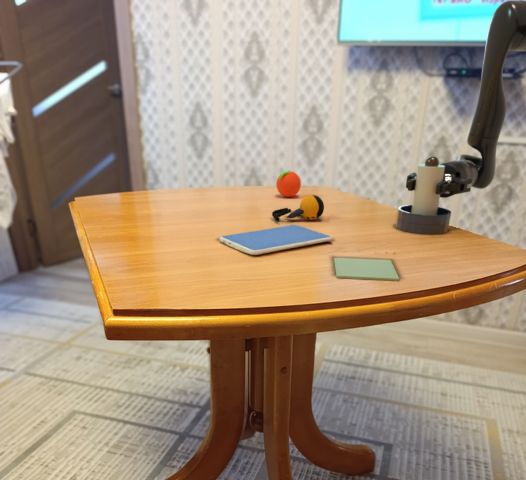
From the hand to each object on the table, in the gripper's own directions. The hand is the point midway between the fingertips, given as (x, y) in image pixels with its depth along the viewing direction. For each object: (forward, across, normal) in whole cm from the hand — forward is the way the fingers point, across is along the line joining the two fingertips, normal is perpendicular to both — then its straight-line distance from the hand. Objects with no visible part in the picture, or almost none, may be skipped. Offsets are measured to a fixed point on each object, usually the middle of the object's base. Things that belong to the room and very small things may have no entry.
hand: (423, 187), depth 105 cm
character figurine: (+7, -26, +10) cm, 29 cm away
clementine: (-15, -44, +10) cm, 48 cm away
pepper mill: (-3, 0, +9) cm, 9 cm away
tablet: (+27, -18, +10) cm, 34 cm away
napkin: (+31, +3, +10) cm, 32 cm away
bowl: (-3, 0, +10) cm, 10 cm away
